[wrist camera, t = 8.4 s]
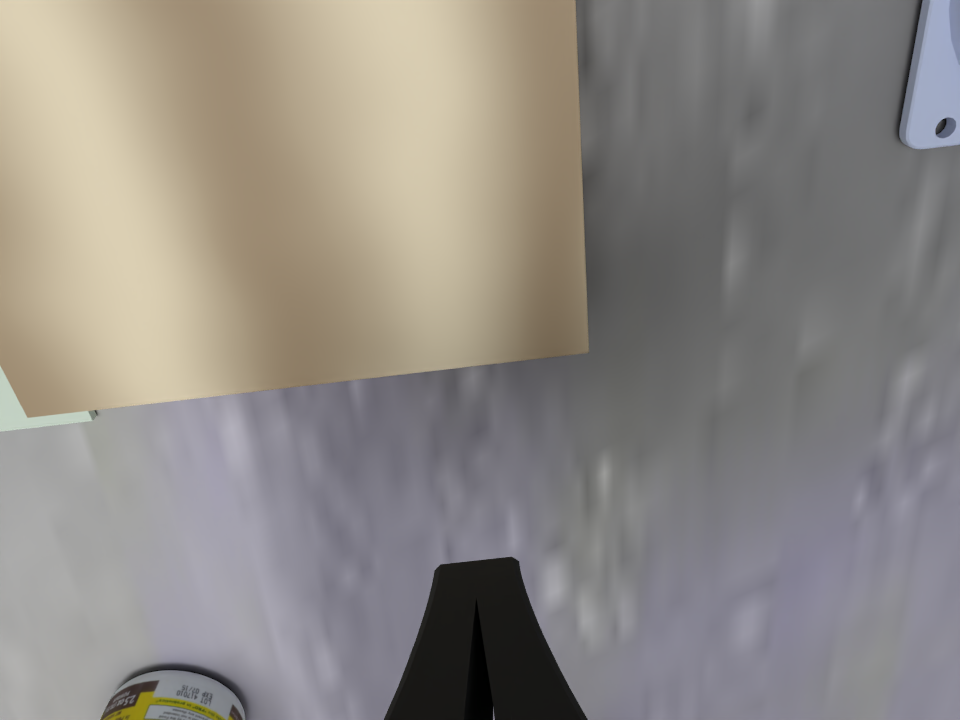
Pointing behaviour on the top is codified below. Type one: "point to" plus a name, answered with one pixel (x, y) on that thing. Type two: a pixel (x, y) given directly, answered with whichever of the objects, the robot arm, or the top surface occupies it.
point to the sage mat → (8, 414)
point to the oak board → (283, 194)
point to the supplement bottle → (173, 698)
